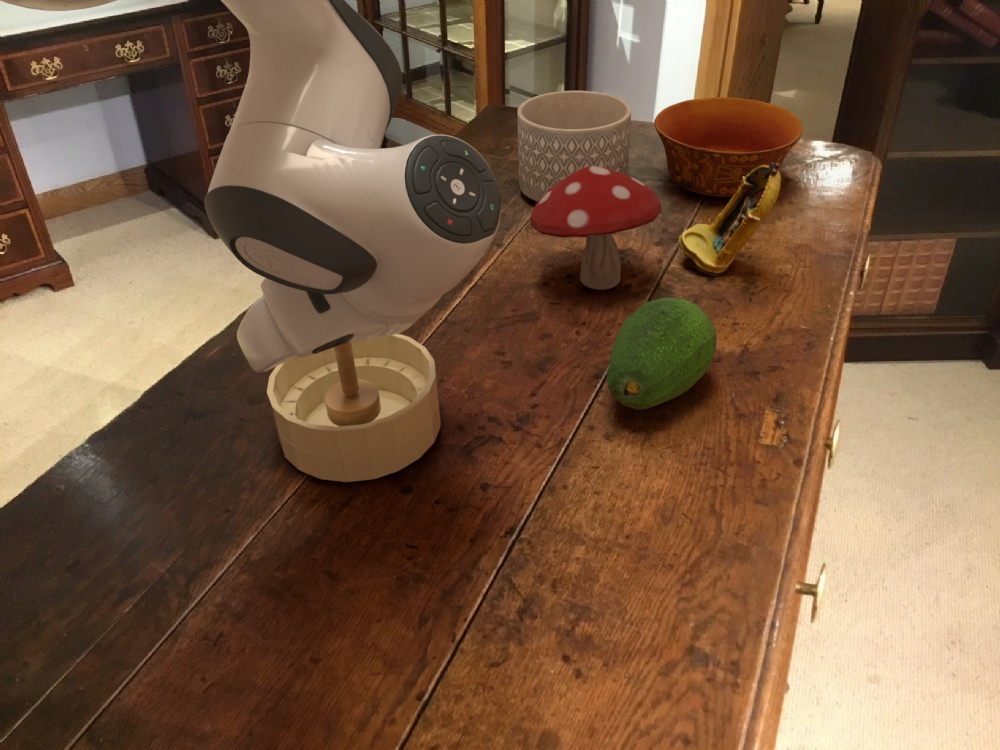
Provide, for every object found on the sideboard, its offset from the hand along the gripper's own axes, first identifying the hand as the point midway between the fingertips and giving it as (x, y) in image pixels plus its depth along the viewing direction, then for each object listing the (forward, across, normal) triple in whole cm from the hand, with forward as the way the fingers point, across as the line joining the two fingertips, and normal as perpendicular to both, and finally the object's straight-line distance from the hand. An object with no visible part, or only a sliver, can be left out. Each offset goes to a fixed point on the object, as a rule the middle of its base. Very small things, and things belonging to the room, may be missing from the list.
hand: (336, 328), depth 78 cm
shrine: (+8, -54, +11) cm, 56 cm away
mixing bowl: (+10, -1, +9) cm, 13 cm away
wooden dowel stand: (+6, 0, +7) cm, 9 cm away
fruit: (0, -28, +20) cm, 34 cm away
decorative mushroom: (+14, -39, +5) cm, 42 cm away
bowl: (+20, -73, 0) cm, 76 cm away
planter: (+29, -55, -10) cm, 63 cm away
